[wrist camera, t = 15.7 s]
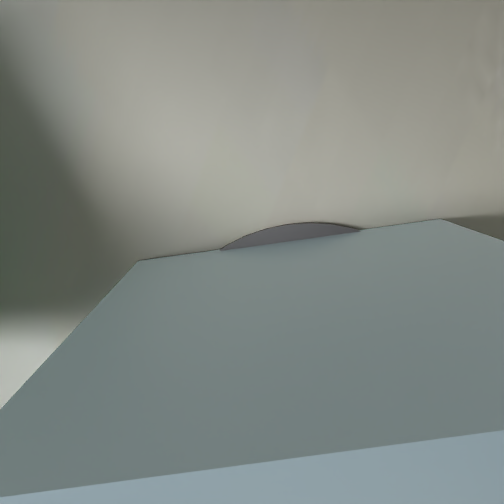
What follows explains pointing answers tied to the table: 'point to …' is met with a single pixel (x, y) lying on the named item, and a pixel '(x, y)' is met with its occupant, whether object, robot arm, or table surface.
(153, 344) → the pale blue cube
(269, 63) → the table surface
